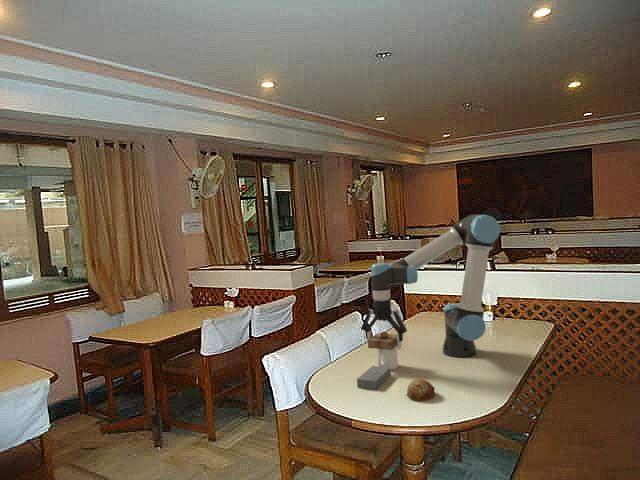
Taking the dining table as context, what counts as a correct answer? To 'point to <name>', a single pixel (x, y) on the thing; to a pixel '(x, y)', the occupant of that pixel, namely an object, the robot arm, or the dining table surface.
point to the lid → (383, 341)
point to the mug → (387, 358)
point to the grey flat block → (373, 377)
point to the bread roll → (420, 390)
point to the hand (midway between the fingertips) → (384, 347)
